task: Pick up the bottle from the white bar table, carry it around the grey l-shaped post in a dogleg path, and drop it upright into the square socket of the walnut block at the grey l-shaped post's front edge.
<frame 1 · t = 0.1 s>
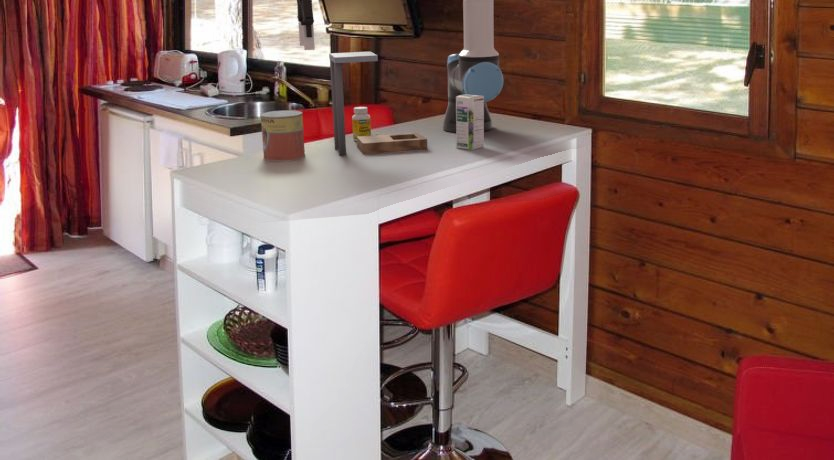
hand: (307, 47, 257), 28 cm above the table, fingers open, 13 cm apart
canned food: (284, 158, 253), on the table
socket block: (391, 148, 260), on the table
supplement bottle: (362, 140, 274), on the table
syrup box: (470, 148, 258), on the table
grey l-shaped post: (358, 150, 258), on the table
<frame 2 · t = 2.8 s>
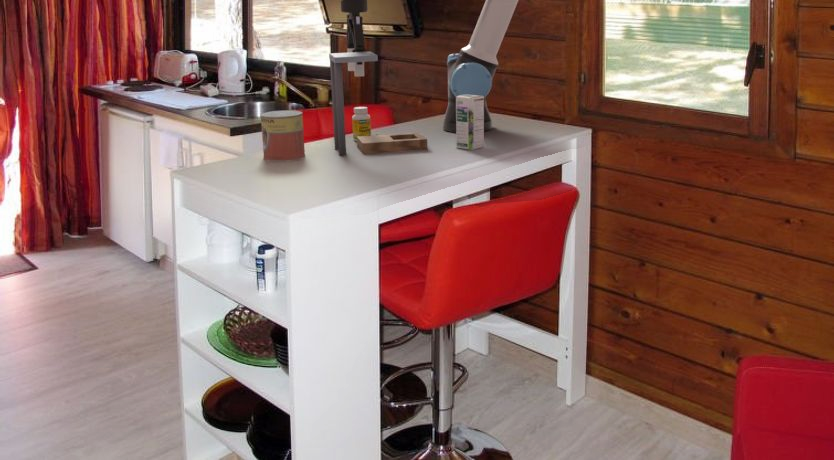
hand: (356, 73, 268), 19 cm above the table, fingers open, 13 cm apart
nothing on the table moved.
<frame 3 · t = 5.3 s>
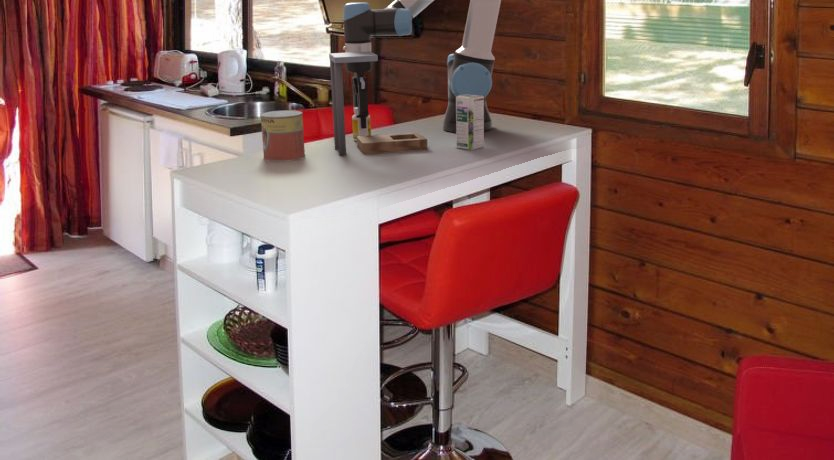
hand: (362, 137, 273), 1 cm above the table, fingers closed on supplement bottle, 5 cm apart
supplement bottle: (362, 140, 274), on the table, touching gripper
everything else where it was.
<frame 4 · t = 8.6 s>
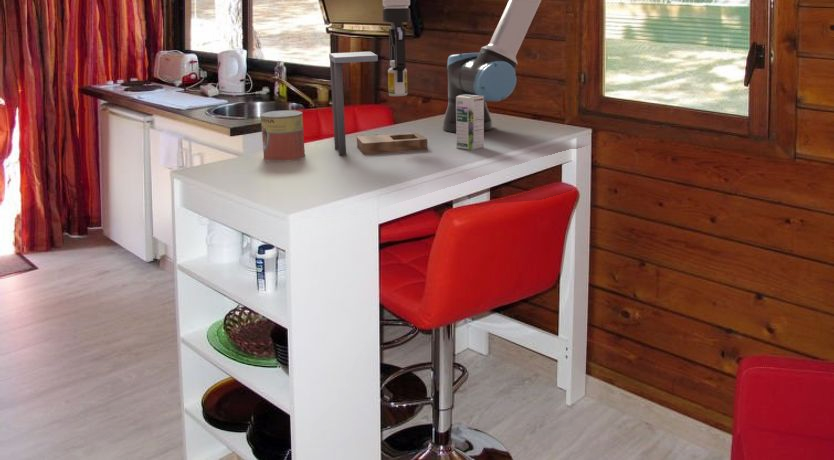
hand: (398, 92, 260), 15 cm above the table, fingers closed on supplement bottle, 5 cm apart
supplement bottle: (398, 95, 260), point 14 cm above the table, touching gripper
everything else where it was.
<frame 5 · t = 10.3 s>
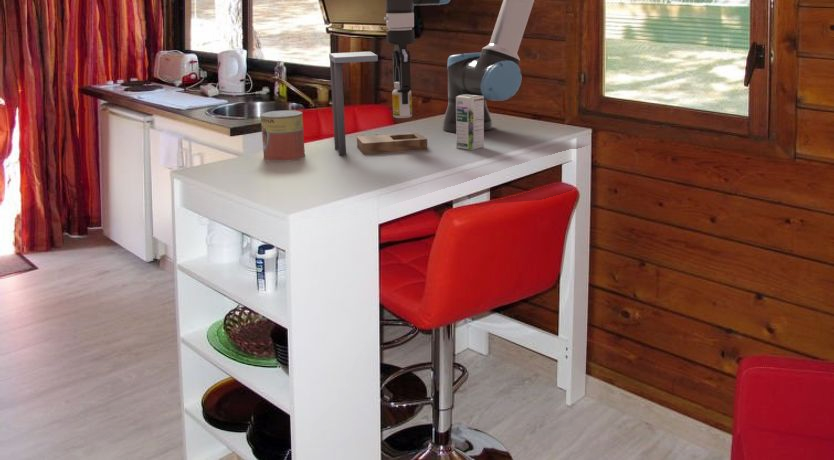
hand: (402, 113, 258), 10 cm above the table, fingers closed on supplement bottle, 5 cm apart
supplement bottle: (402, 117, 258), point 9 cm above the table, touching gripper
everything else where it was.
when the fingers open (4 cm above the table, at t = 11.9 s): supplement bottle drops 3 cm, resting in socket block.
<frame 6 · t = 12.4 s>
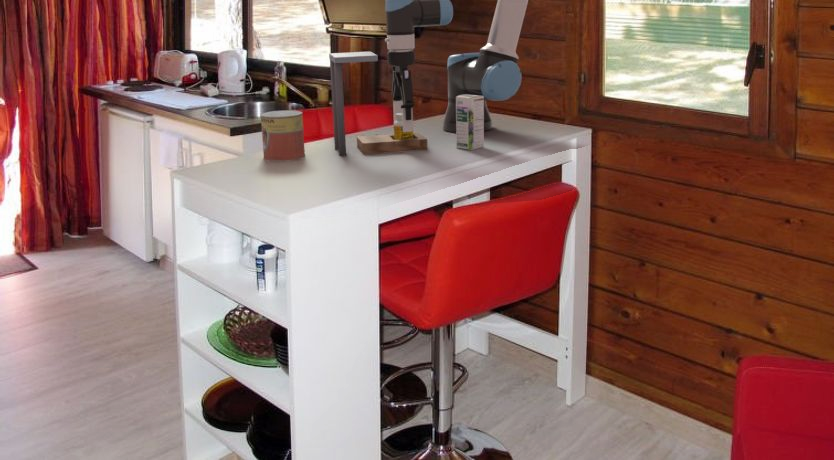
hand: (403, 127, 259), 6 cm above the table, fingers open, 13 cm apart
supplement bottle: (404, 148, 261), resting in socket block
everything else where it was.
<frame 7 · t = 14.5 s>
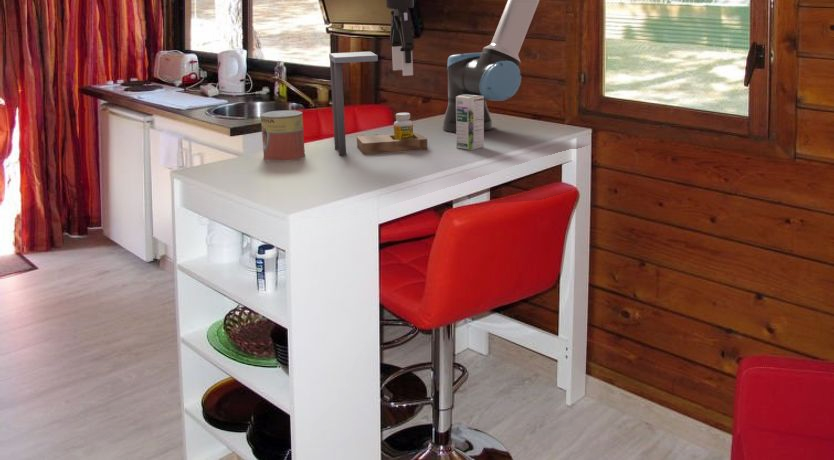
hand: (402, 72, 256), 21 cm above the table, fingers open, 13 cm apart
nothing on the table moved.
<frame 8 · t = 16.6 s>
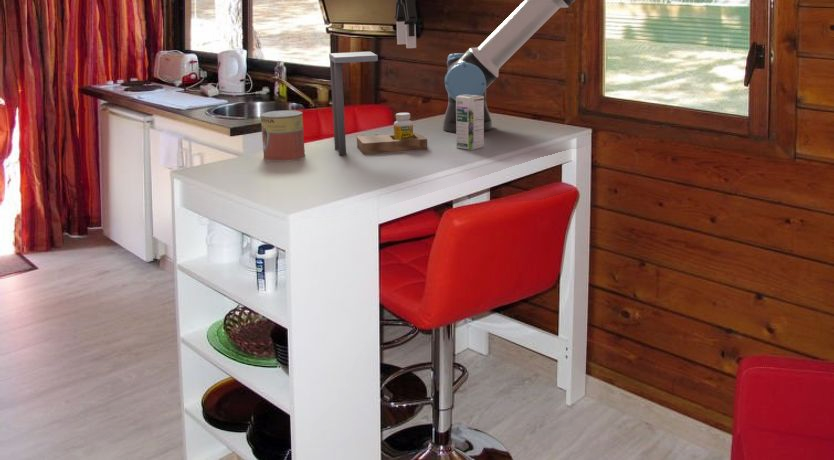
hand: (406, 46, 268), 27 cm above the table, fingers open, 13 cm apart
nothing on the table moved.
at the end: supplement bottle 0.0 cm from the target spot on the socket block, point 0.0 cm above the socket block's base; supplement bottle tilted 0°; the gripper is holding nothing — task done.
